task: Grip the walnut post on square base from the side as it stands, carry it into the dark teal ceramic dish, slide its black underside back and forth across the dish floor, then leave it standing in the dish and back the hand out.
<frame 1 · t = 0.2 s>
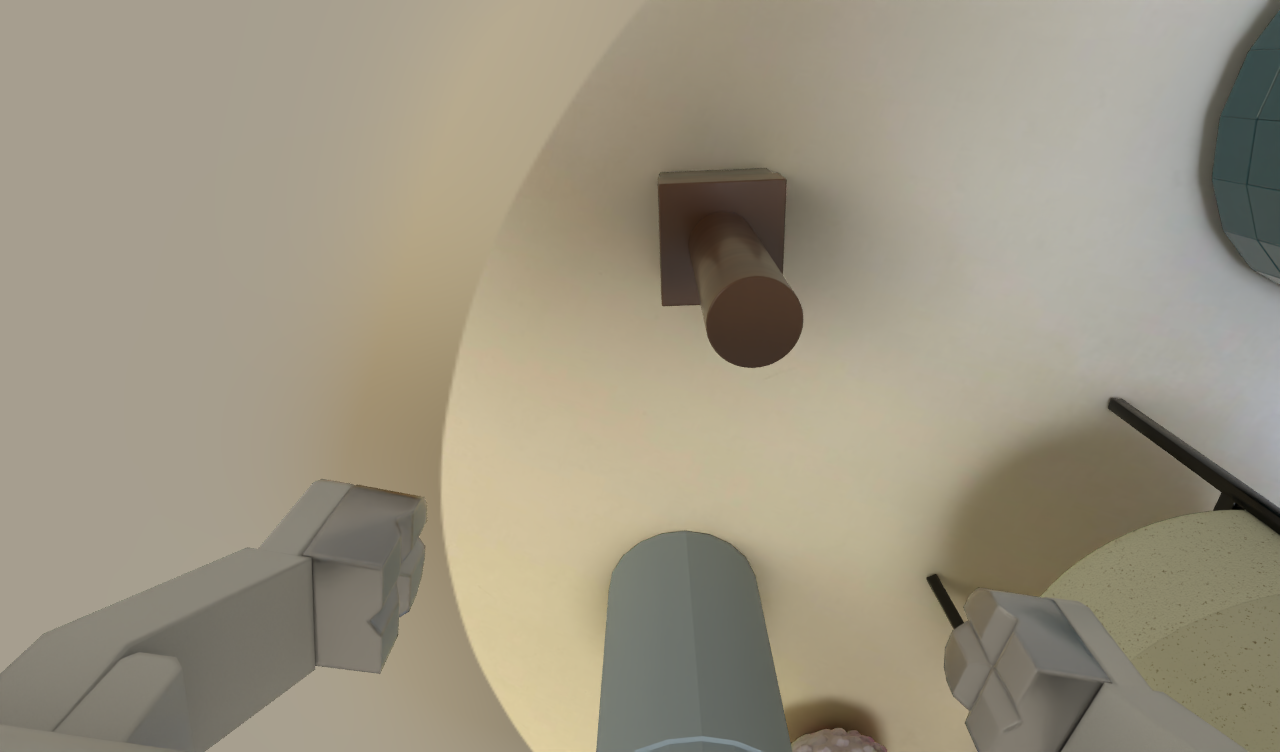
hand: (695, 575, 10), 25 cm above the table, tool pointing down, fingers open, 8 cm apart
spray bottle: (682, 590, 42), on the table
post on square base: (713, 224, 33), on the table
planter: (1067, 521, 40), on the table
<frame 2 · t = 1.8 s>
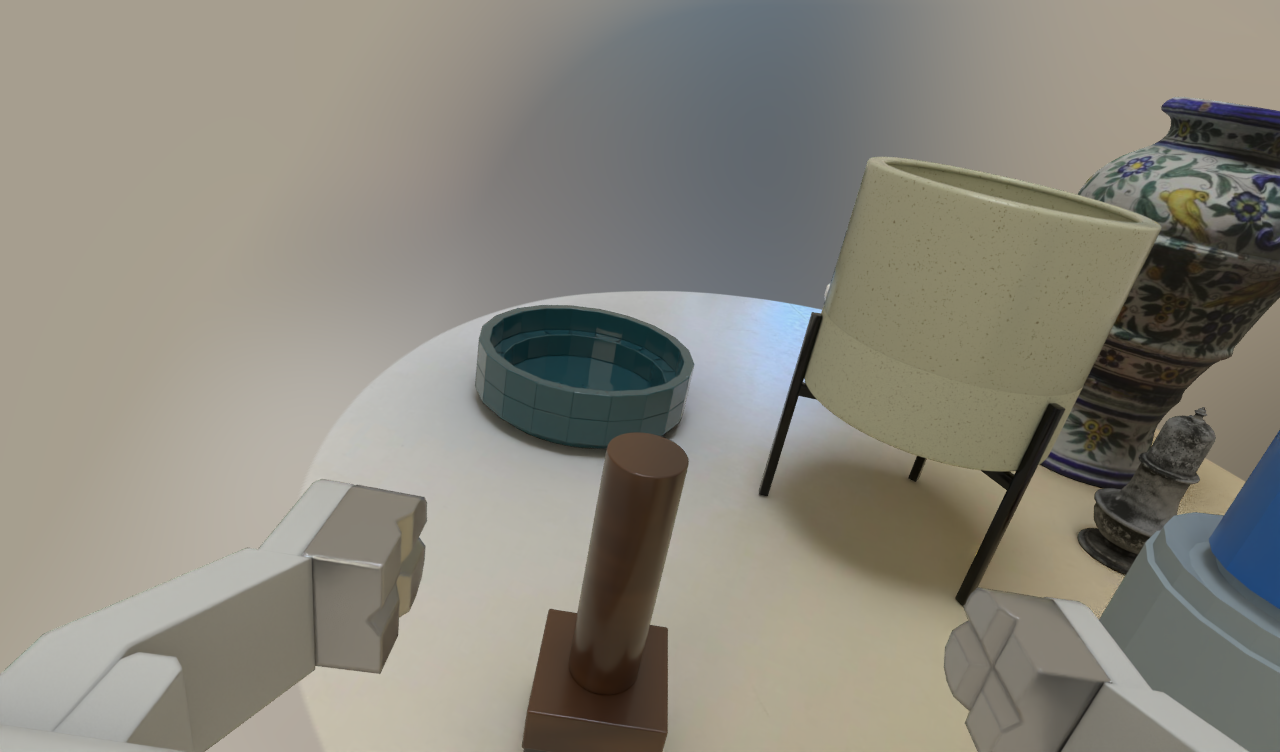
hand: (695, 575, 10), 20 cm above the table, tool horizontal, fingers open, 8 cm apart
dish: (580, 400, 57), on the table
vase: (1069, 454, 64), on the table
post on square base: (588, 739, 30), on the table
planter: (870, 520, 49), on the table
salt shaker: (1116, 555, 50), on the table
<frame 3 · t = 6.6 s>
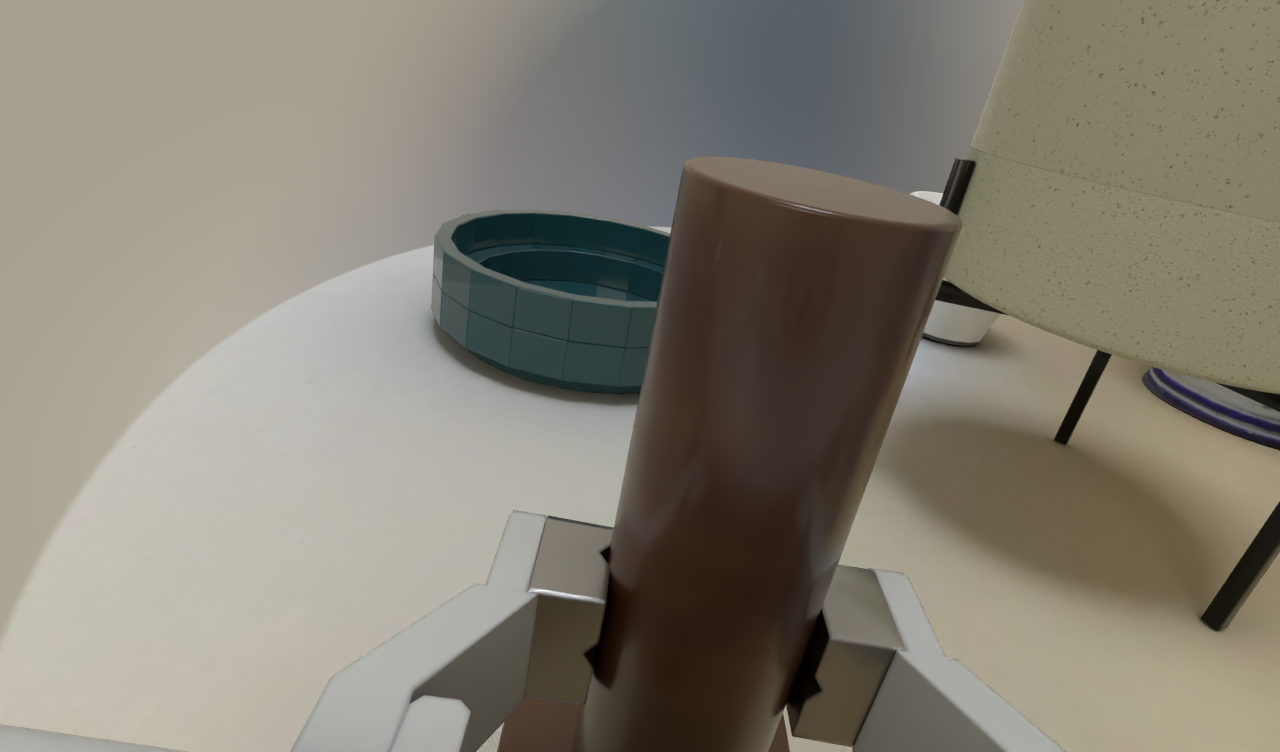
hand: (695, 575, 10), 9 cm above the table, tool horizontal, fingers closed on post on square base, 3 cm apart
dish: (582, 334, 40), on the table
cup: (935, 332, 53), on the table
vase: (1240, 415, 48), on the table
planter: (1022, 497, 32), on the table
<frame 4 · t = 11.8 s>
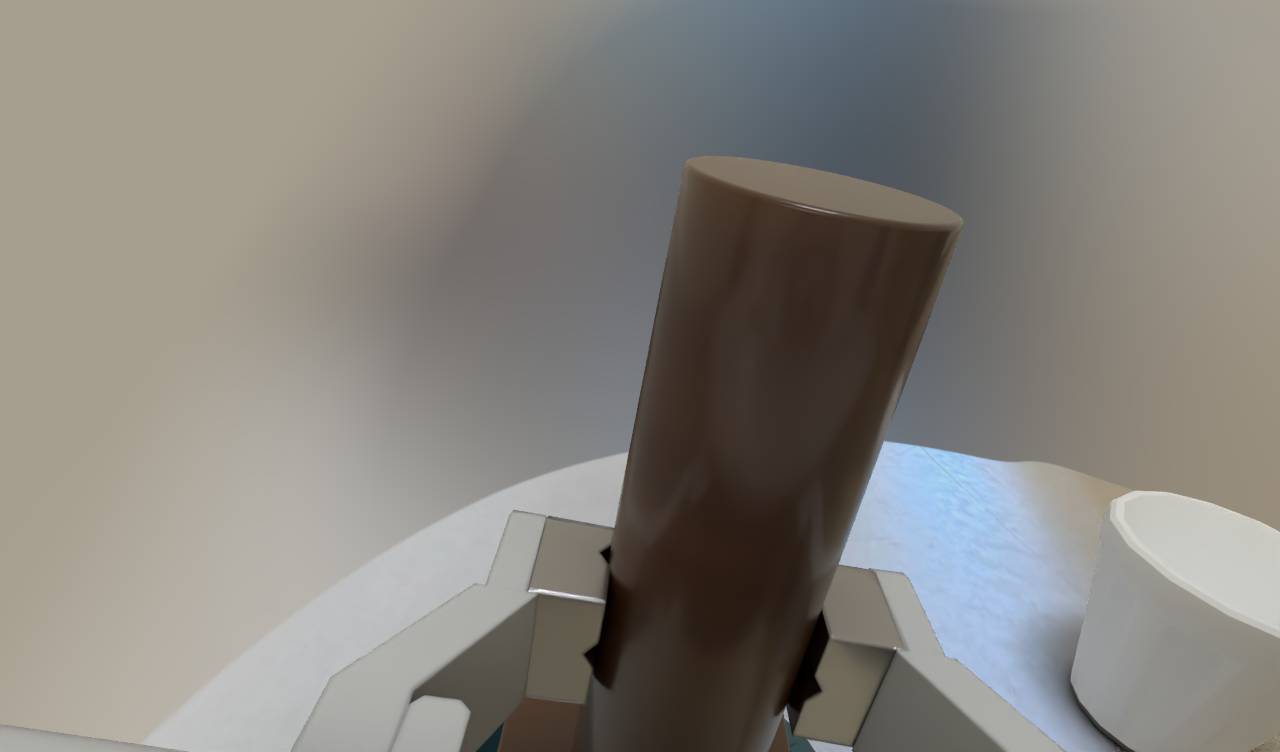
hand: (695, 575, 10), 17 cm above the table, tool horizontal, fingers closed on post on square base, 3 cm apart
cup: (1138, 719, 33), on the table
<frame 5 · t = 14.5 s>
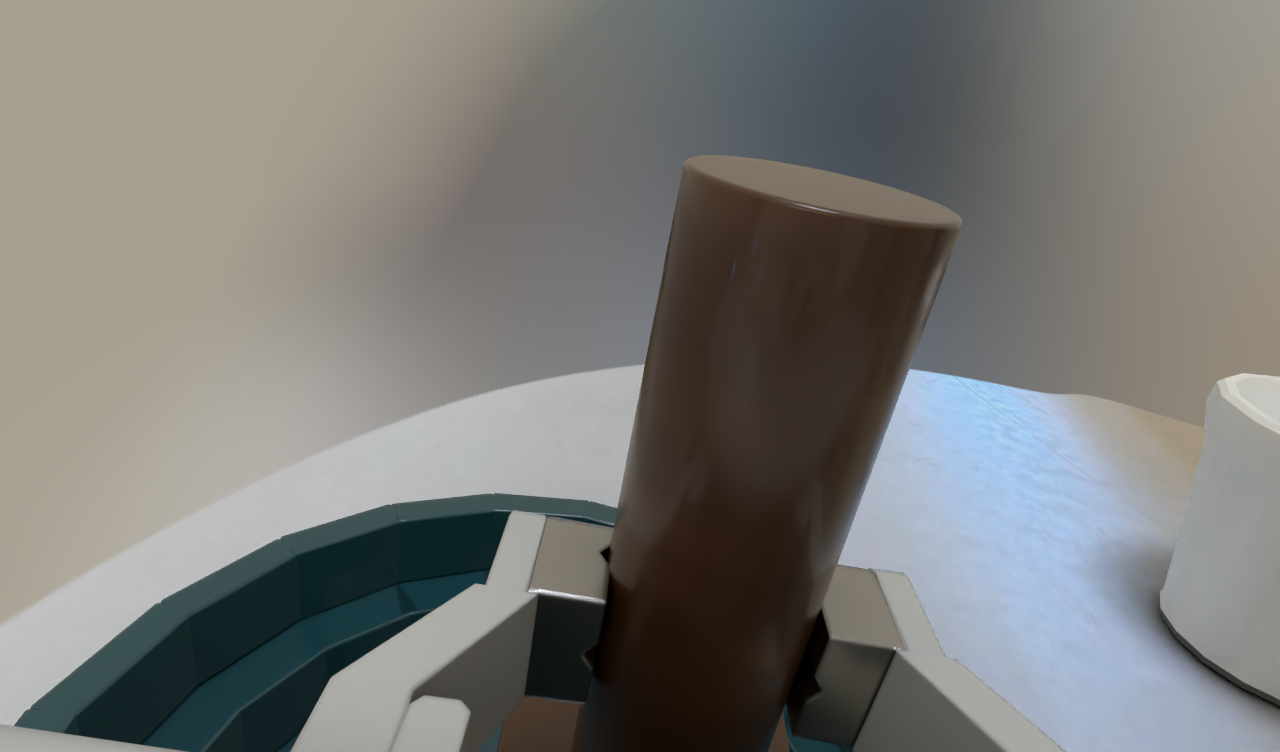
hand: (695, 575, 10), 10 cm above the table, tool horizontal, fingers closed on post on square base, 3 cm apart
cup: (1245, 653, 27), on the table
when the fingers open (9 cm above the table, at t = 16.9 s): post on square base stays where it is, resting on dish.
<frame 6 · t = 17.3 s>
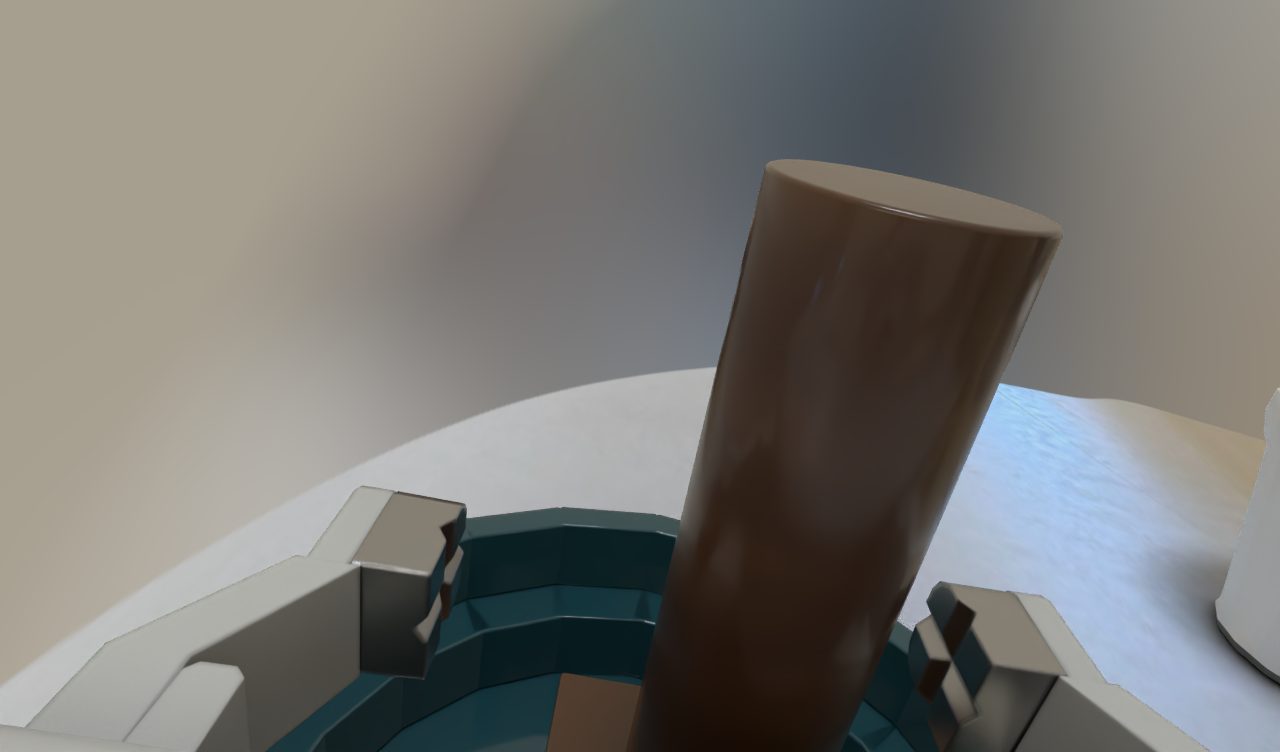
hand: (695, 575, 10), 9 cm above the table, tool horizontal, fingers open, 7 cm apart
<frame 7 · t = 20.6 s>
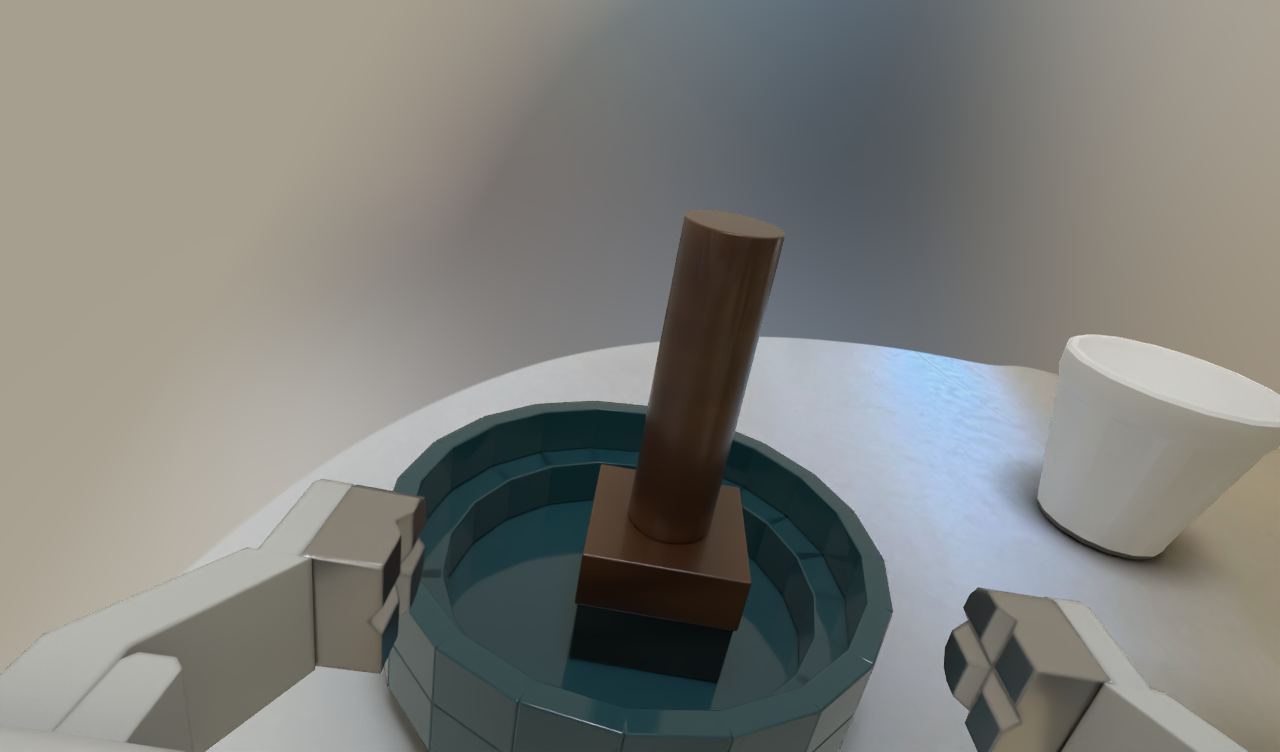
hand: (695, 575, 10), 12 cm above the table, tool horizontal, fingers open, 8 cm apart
dish: (620, 627, 26), on the table
cup: (1094, 527, 38), on the table
post on square base: (647, 615, 25), point 1 cm above the table, touching dish
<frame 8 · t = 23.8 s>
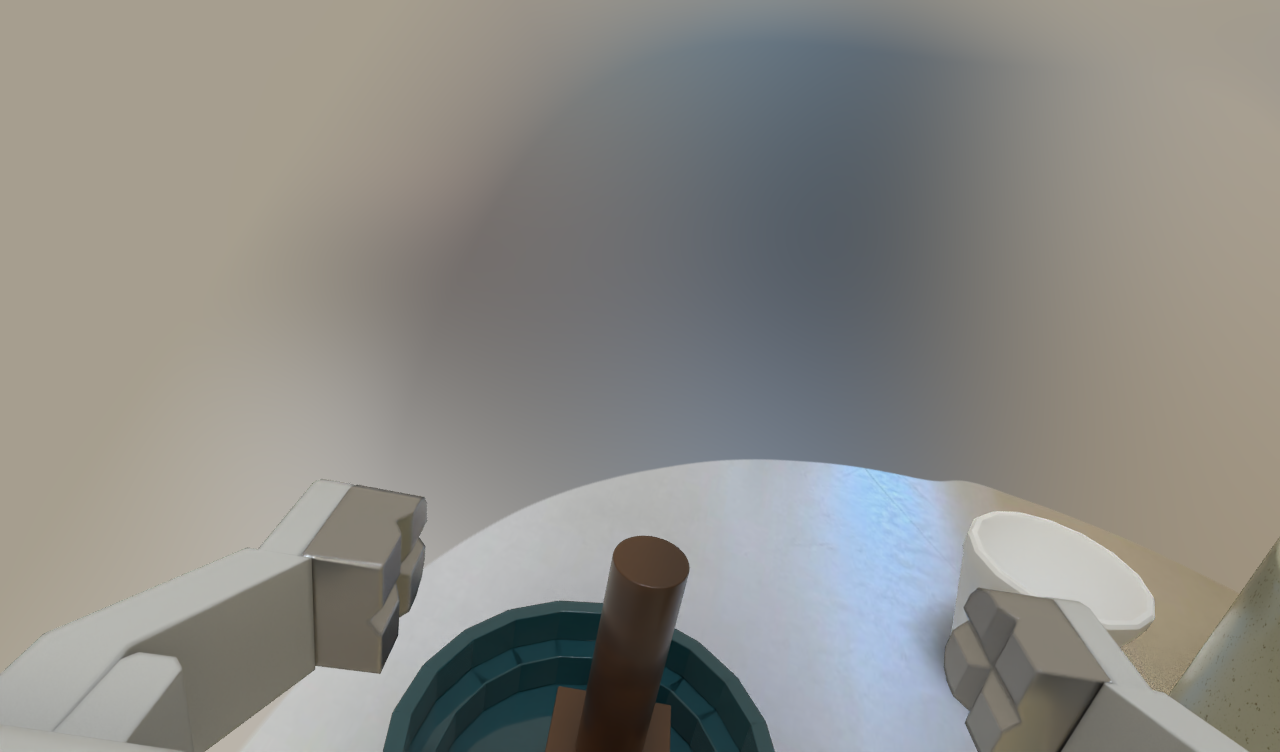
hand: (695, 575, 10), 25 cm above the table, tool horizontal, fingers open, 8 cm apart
cup: (996, 678, 44), on the table
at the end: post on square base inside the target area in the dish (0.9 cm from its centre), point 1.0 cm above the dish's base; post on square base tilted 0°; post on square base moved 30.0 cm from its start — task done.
